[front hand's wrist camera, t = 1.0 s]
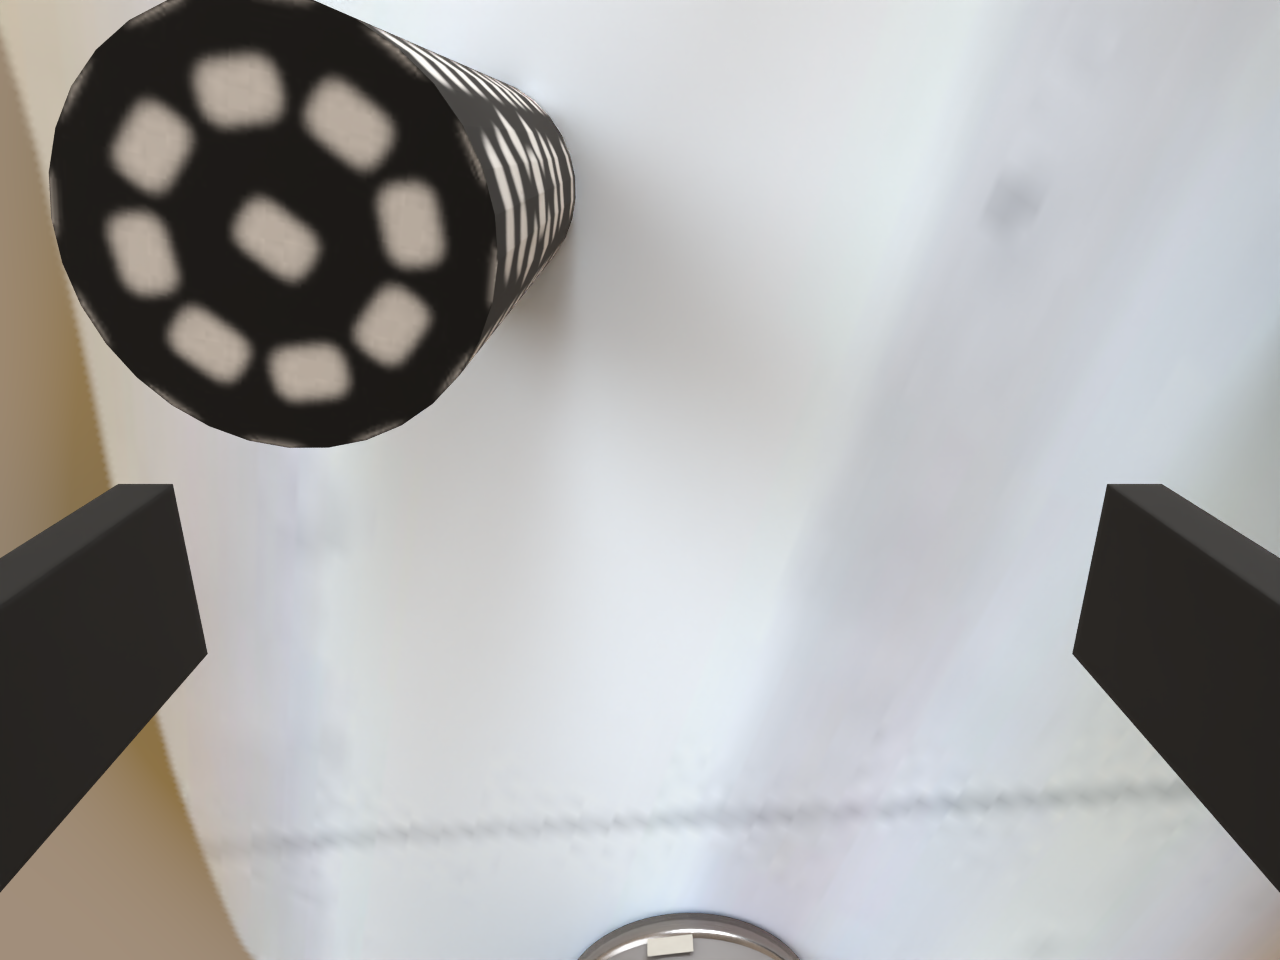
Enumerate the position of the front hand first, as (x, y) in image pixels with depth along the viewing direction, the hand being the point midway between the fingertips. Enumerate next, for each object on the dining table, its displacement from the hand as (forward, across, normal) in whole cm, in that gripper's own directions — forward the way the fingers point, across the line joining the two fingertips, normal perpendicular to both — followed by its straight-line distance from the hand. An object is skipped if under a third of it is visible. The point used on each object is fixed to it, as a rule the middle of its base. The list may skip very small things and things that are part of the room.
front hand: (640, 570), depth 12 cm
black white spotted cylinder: (+16, +7, -4) cm, 18 cm away
